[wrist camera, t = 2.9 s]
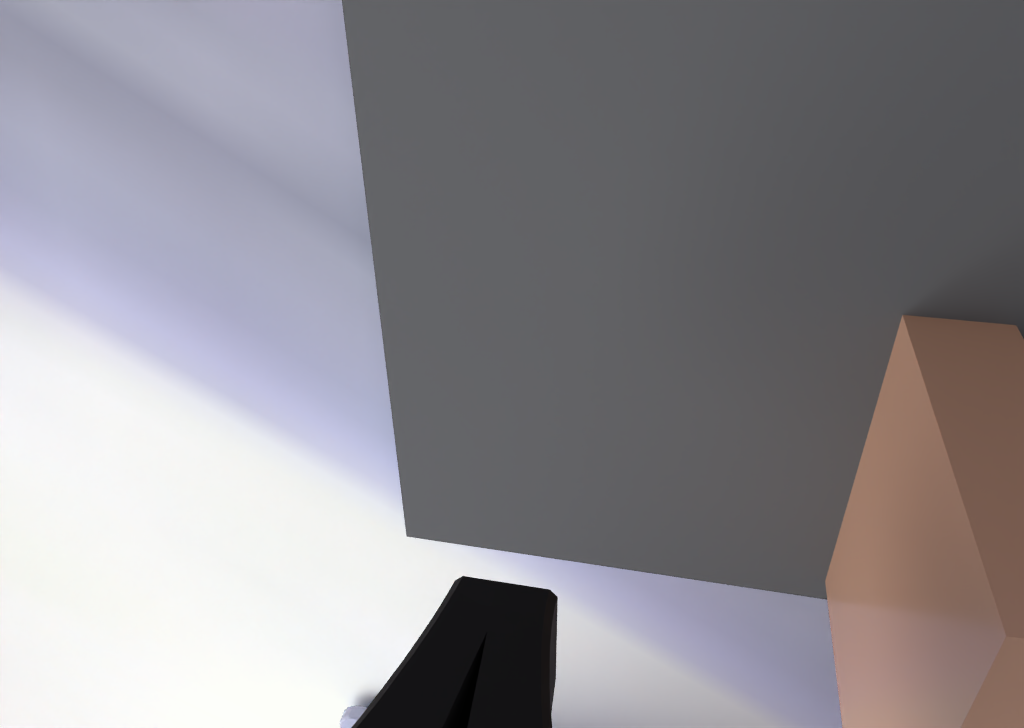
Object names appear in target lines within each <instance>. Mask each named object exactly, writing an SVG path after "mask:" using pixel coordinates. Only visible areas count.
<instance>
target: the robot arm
mask: <svg viewBox="0 0 1024 728" xmlns="http://www.w3.org/2000/svg"><path fill="white" fill-rule="evenodd" d="M556 640H557V596H556V595H555V594H554V593H553V592H552V591H551V590H548V589H542V588H536V587H529V586H523V585H516V584H510V583H504V582H497V581H491V580H484V579H478V578H472V577H465V576H462V577H461V578H459V579H457V580H455V582H454V584H453V585H452V587H451V589H450V590H449V592H448V594H447V596H446V597H445V599H444V600H443V602H442V604H441V605H440V607H439V608H438V610H437V612H436V613H435V615H434V616H433V618H432V619H431V621H430V622H429V624H428V625H427V627H426V628H425V630H424V631H423V633H422V634H421V636H420V637H419V639H418V640H417V642H416V643H415V644H414V646H413V647H412V649H411V650H410V652H409V653H408V654H407V656H406V657H405V659H404V660H403V661H402V663H401V664H400V665H399V667H398V668H397V669H396V671H395V672H394V673H393V675H392V676H391V677H390V679H389V680H388V681H387V683H386V684H385V685H384V687H383V688H382V689H381V691H380V692H379V693H378V695H377V696H376V697H375V699H374V700H373V701H372V703H371V704H370V705H369V706H368V708H367V707H362V706H351V707H348V708H347V709H346V710H345V711H344V713H343V715H342V718H341V720H340V726H341V728H552V721H551V711H552V702H553V695H554V687H555V680H556Z"/></svg>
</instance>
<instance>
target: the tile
mask: <svg viewBox="0 0 1024 728" xmlns="http://www.w3.org/2000/svg"><path fill="white" fill-rule="evenodd" d="M825 584H826V593H827V601H828V610H829V618H830V627H831V635H832V643H833V652H834V660H835V669H836V677H837V686H838V694H839V702H840V711H841V719H842V728H1024V339H1023V337H1022V335H1021V333H1020V331H1019V329H1018V327H1017V326H1016V325H1009V324H997V323H986V322H975V321H964V320H953V319H942V318H931V317H920V316H909V315H902V318H901V322H900V325H899V328H898V332H897V335H896V339H895V342H894V346H893V349H892V353H891V356H890V359H889V363H888V366H887V370H886V373H885V377H884V380H883V384H882V387H881V390H880V394H879V397H878V401H877V404H876V408H875V411H874V415H873V418H872V421H871V425H870V428H869V432H868V435H867V439H866V442H865V446H864V449H863V452H862V456H861V459H860V463H859V466H858V470H857V473H856V477H855V480H854V483H853V487H852V490H851V494H850V497H849V501H848V504H847V508H846V511H845V514H844V518H843V521H842V525H841V528H840V532H839V535H838V539H837V542H836V545H835V549H834V552H833V556H832V559H831V563H830V566H829V570H828V573H827V576H826V580H825Z"/></svg>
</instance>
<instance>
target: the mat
mask: <svg viewBox="0 0 1024 728" xmlns="http://www.w3.org/2000/svg"><path fill="white" fill-rule="evenodd" d="M342 5H343V13H344V21H345V30H346V38H347V46H348V54H349V63H350V71H351V79H352V87H353V96H354V104H355V112H356V121H357V129H358V137H359V145H360V154H361V162H362V170H363V179H364V187H365V195H366V203H367V212H368V220H369V228H370V237H371V245H372V253H373V261H374V270H375V278H376V286H377V295H378V303H379V311H380V319H381V328H382V336H383V344H384V352H385V361H386V369H387V377H388V386H389V394H390V402H391V410H392V419H393V427H394V435H395V444H396V452H397V460H398V468H399V477H400V485H401V493H402V502H403V510H404V518H405V526H406V535H407V536H408V537H415V538H421V539H428V540H434V541H441V542H448V543H454V544H461V545H468V546H474V547H481V548H488V549H494V550H501V551H508V552H514V553H521V554H528V555H534V556H541V557H548V558H554V559H561V560H567V561H574V562H581V563H587V564H594V565H601V566H607V567H614V568H621V569H627V570H634V571H641V572H647V573H654V574H661V575H667V576H674V577H681V578H687V579H694V580H701V581H707V582H714V583H720V584H727V585H734V586H740V587H747V588H754V589H760V590H767V591H774V592H780V593H787V594H794V595H800V596H807V597H814V598H820V599H827V593H826V584H825V580H826V576H827V573H828V570H829V566H830V563H831V559H832V556H833V552H834V549H835V545H836V542H837V539H838V535H839V532H840V528H841V525H842V521H843V518H844V514H845V511H846V508H847V504H848V501H849V497H850V494H851V490H852V487H853V483H854V480H855V477H856V473H857V470H858V466H859V463H860V459H861V456H862V452H863V449H864V446H865V442H866V439H867V435H868V432H869V428H870V425H871V421H872V418H873V415H874V411H875V408H876V404H877V401H878V397H879V394H880V390H881V387H882V384H883V380H884V377H885V373H886V370H887V366H888V363H889V359H890V356H891V353H892V349H893V346H894V342H895V339H896V335H897V332H898V328H899V325H900V322H901V318H902V315H909V316H920V317H931V318H942V319H953V320H964V321H975V322H986V323H997V324H1009V325H1016V326H1017V327H1018V329H1019V331H1020V333H1021V335H1022V337H1023V339H1024V0H342Z"/></svg>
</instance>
